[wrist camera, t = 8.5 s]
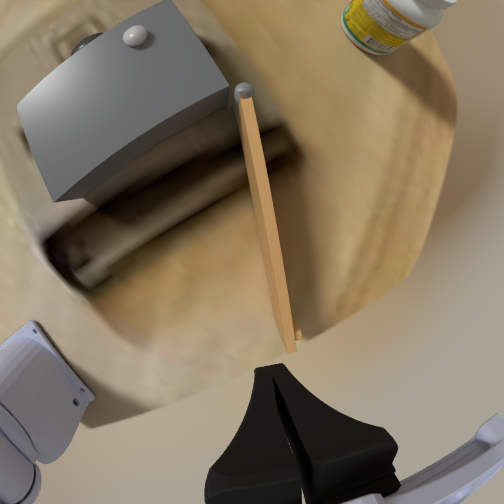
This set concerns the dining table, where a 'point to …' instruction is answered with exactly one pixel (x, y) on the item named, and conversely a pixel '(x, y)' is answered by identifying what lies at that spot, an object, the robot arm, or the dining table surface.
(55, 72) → the camera body
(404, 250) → the dining table surface
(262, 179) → the side door
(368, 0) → the supplement bottle
